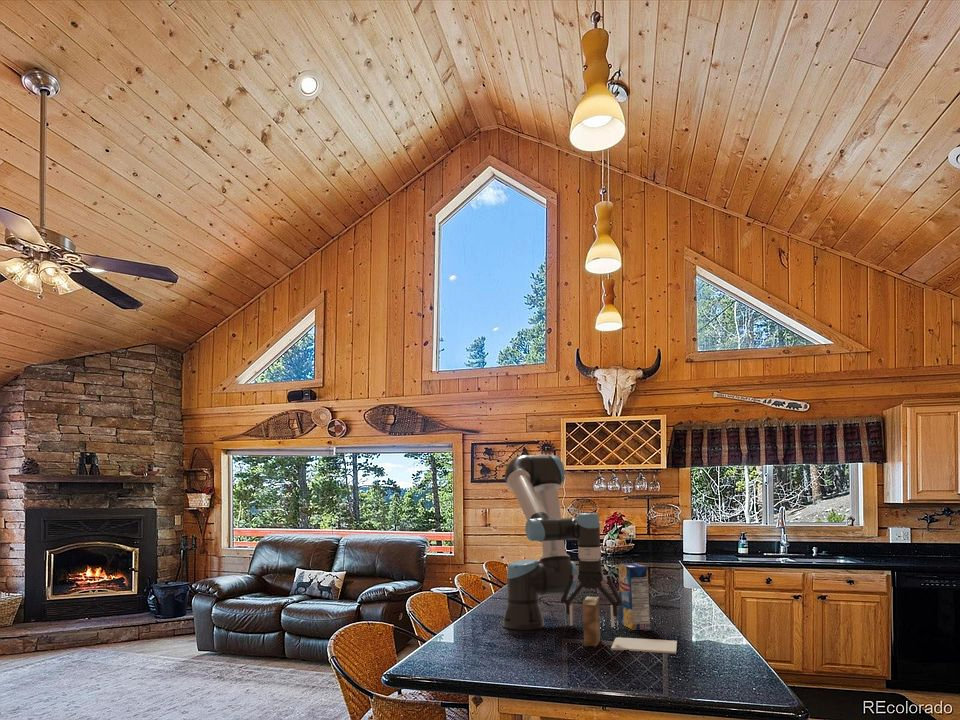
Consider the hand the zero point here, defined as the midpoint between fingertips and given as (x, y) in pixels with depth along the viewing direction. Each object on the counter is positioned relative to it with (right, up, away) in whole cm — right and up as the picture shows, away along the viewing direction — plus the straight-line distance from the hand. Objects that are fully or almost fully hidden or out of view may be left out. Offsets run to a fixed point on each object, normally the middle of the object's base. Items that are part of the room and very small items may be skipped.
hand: (592, 625), depth 232 cm
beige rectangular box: (0, -6, -1) cm, 6 cm away
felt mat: (+16, -5, -5) cm, 18 cm away
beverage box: (+19, -9, +23) cm, 31 cm away
